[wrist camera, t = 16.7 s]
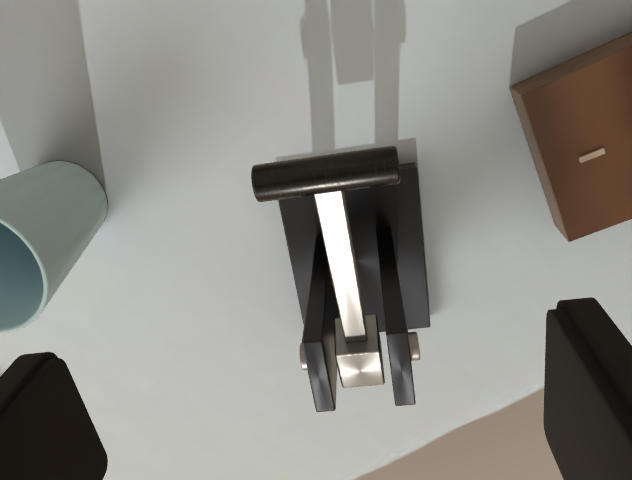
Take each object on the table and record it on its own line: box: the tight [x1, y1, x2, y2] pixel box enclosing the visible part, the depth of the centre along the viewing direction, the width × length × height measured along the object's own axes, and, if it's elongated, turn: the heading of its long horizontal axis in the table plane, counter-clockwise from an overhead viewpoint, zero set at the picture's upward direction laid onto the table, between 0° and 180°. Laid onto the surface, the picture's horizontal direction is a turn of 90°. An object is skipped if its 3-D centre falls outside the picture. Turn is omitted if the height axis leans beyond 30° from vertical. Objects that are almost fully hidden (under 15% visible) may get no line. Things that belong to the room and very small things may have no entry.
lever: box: [251, 146, 400, 388], centre depth 24 cm, size 13×6×2 cm, turn 10°
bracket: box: [278, 163, 430, 412], centre depth 32 cm, size 12×9×13 cm
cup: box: [0, 161, 107, 334], centre depth 32 cm, size 8×8×10 cm
